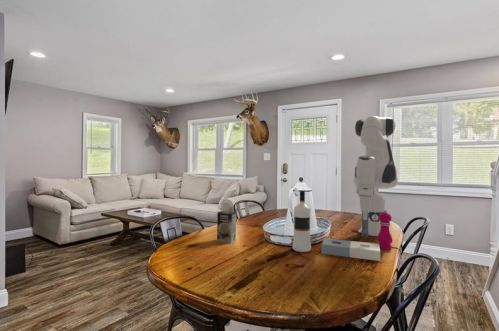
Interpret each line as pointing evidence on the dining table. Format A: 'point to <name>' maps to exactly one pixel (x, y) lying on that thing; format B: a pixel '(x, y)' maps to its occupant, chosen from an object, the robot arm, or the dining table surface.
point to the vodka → (302, 226)
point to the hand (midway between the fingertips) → (365, 218)
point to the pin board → (351, 249)
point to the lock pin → (365, 226)
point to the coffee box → (226, 226)
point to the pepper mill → (384, 231)
